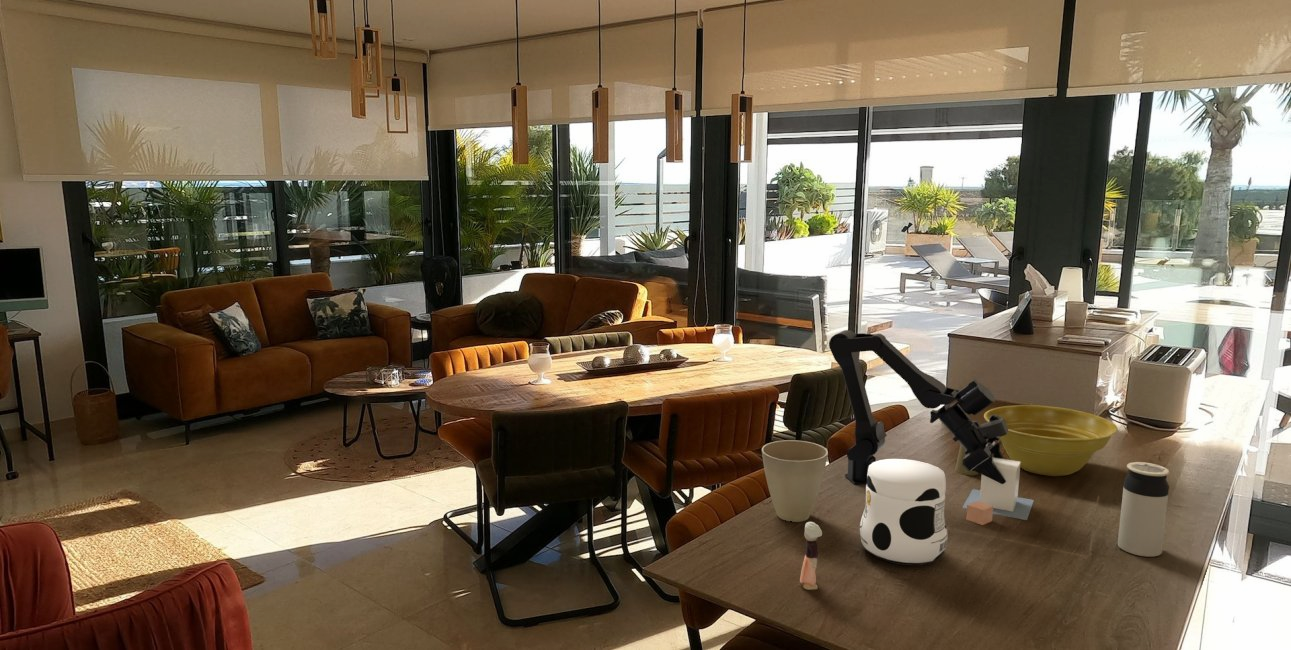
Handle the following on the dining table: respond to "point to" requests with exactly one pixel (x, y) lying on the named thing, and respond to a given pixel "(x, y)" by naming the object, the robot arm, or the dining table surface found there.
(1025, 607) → the dining table surface
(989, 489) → the white rectangular block
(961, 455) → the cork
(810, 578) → the grandmother figurine
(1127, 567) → the dining table surface
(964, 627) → the dining table surface
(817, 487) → the plant pot
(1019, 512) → the mat
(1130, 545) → the travel mug
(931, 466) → the milk container
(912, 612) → the dining table surface
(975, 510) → the block
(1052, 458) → the planter bowl
